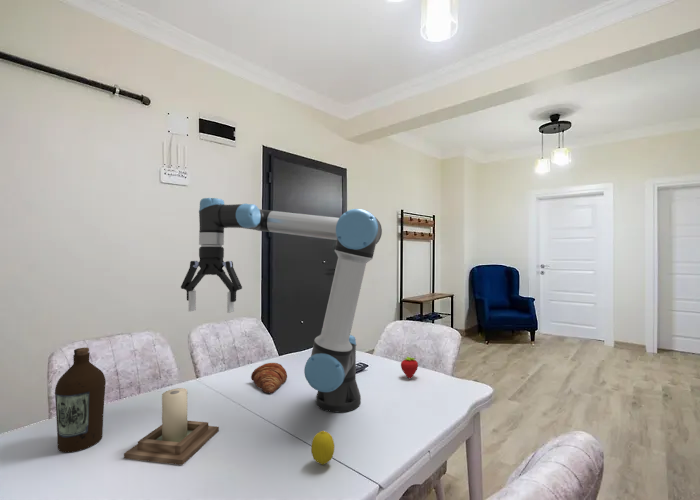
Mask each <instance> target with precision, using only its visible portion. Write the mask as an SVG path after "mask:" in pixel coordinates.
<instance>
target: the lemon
mask: <svg viewBox="0 0 700 500" xmlns="http://www.w3.org/2000/svg"><path fill="white" fill-rule="evenodd" d="M310 449H311V455H312V458H313V460H314V461H315V462H316V463H318V464H320V465H326V464H327V463H329V462H330V461H331V460H332V459H333V457H334V453H335V442H334V438H333V436H332V435H331V433H329V432H327V431H325V430H321V431H318V432H317V433H316V434H314V437H313V439H312V440H311V448H310Z"/></svg>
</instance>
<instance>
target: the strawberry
mask: <svg viewBox="0 0 700 500" xmlns="http://www.w3.org/2000/svg"><path fill="white" fill-rule="evenodd" d="M416 359H417V358H416V357H412V355H411V354H409V356H406V358H404V359H402V360H401V362H400V367H401V370H402V372H403V373H404V375H405V376H406V377H407V378H408V379H409V378H410V379H412V378H413V376H414V375H415V374H416V372H417V370H418V368H419V363H418V361H417V360H416Z"/></svg>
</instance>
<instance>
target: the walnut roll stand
mask: <svg viewBox="0 0 700 500" xmlns="http://www.w3.org/2000/svg"><path fill="white" fill-rule="evenodd" d="M219 431H220V426H215V425H209V422H208V421H198V420H197V421H196V420H187V436H186V437H185V438H184V439H183V440H181V441H180V442H171V441H162V424H161V425H159V426H158V427H156V428H155V429H154V430H152V431H150V432H149V433H148V434H146V435H145V436H144V437H142V438H140V439H139V440H138V441H137V442H136V444H135V445H134V446H133V447H131V448H129V449H128V450H127V451H126V452H124V453H123V459H125V460H133V461H134V460H136V461H141V462H142V461H144V462H152V463H161V464H171V465H176V466H177V465H178V466H183V465H185V464H186V462H188V461H189V460H190V459H191V458H192V457H193V456H194V455H195V454H196V453H197V452H199V450H200V449H202V447H204V445H206V444H207V443H208V441H210V440H211V439H212V438H213V437H214V436H215V435H216V434H217V433H218V432H219Z"/></svg>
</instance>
